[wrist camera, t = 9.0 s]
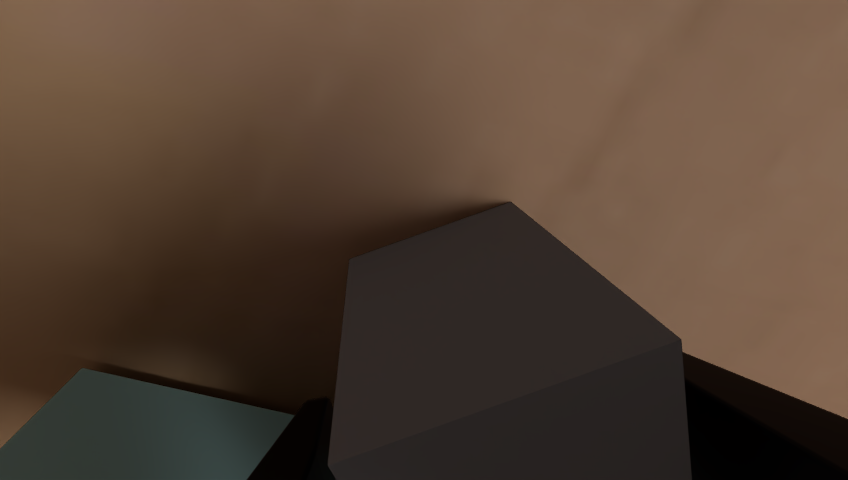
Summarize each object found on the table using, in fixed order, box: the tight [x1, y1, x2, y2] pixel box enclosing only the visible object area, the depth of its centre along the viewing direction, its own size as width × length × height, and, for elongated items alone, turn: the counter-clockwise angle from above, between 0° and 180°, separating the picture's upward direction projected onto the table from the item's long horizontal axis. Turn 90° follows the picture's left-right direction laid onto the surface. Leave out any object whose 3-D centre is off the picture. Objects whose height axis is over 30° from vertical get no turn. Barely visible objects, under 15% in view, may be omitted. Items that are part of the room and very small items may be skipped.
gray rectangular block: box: [328, 202, 692, 480], centre depth 8 cm, size 6×4×6 cm, turn 18°
